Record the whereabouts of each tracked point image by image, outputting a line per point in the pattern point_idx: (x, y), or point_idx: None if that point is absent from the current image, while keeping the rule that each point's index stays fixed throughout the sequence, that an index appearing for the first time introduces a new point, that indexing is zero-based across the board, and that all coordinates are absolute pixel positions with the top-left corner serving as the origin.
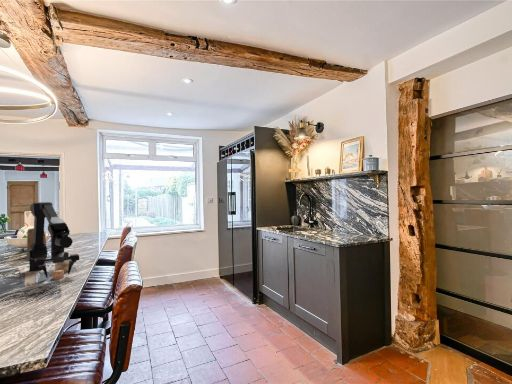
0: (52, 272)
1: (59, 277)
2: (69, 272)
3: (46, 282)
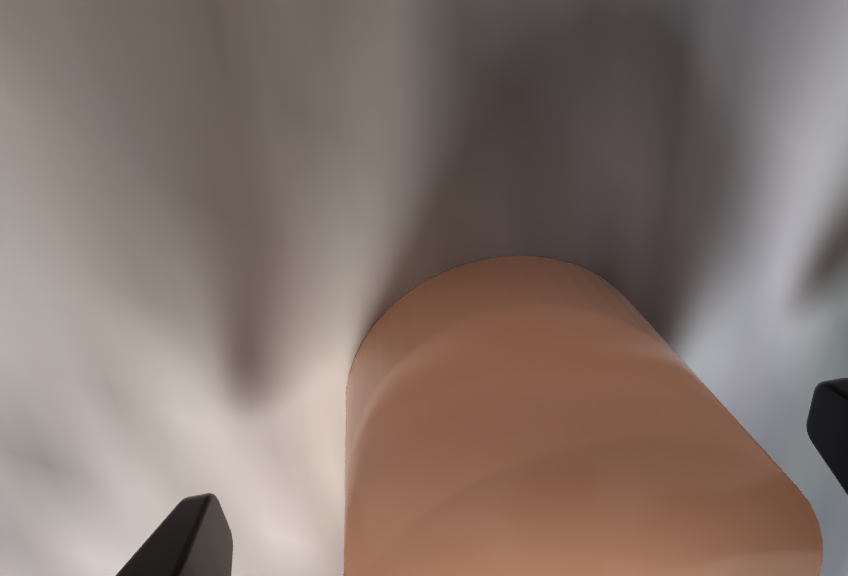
0: (810, 515)
1: (470, 302)
2: (140, 554)
3: (820, 125)
